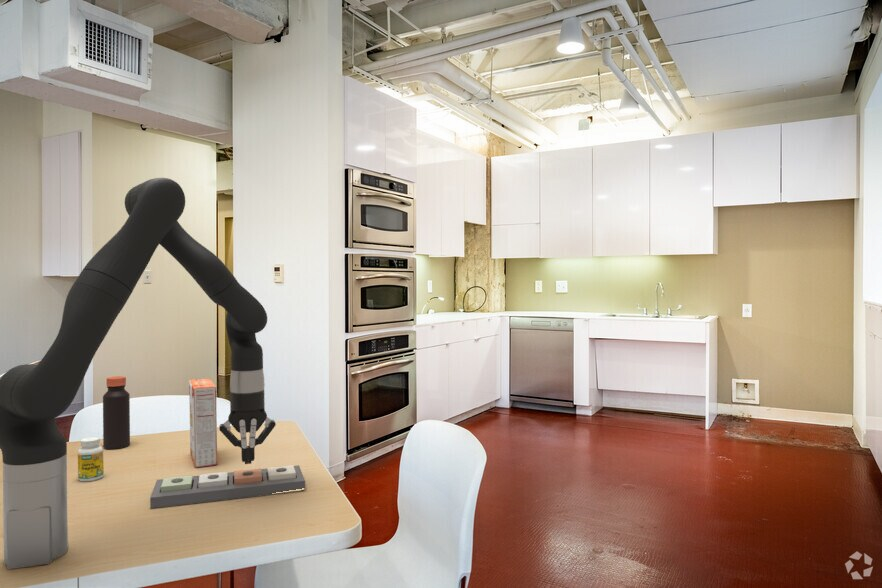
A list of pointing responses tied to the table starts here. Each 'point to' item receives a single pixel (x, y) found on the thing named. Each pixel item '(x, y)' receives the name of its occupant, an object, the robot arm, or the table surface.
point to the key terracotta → (247, 476)
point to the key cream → (281, 473)
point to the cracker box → (203, 422)
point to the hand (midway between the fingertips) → (248, 462)
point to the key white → (212, 480)
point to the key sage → (177, 483)
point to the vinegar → (116, 414)
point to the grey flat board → (224, 490)
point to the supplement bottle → (90, 460)
